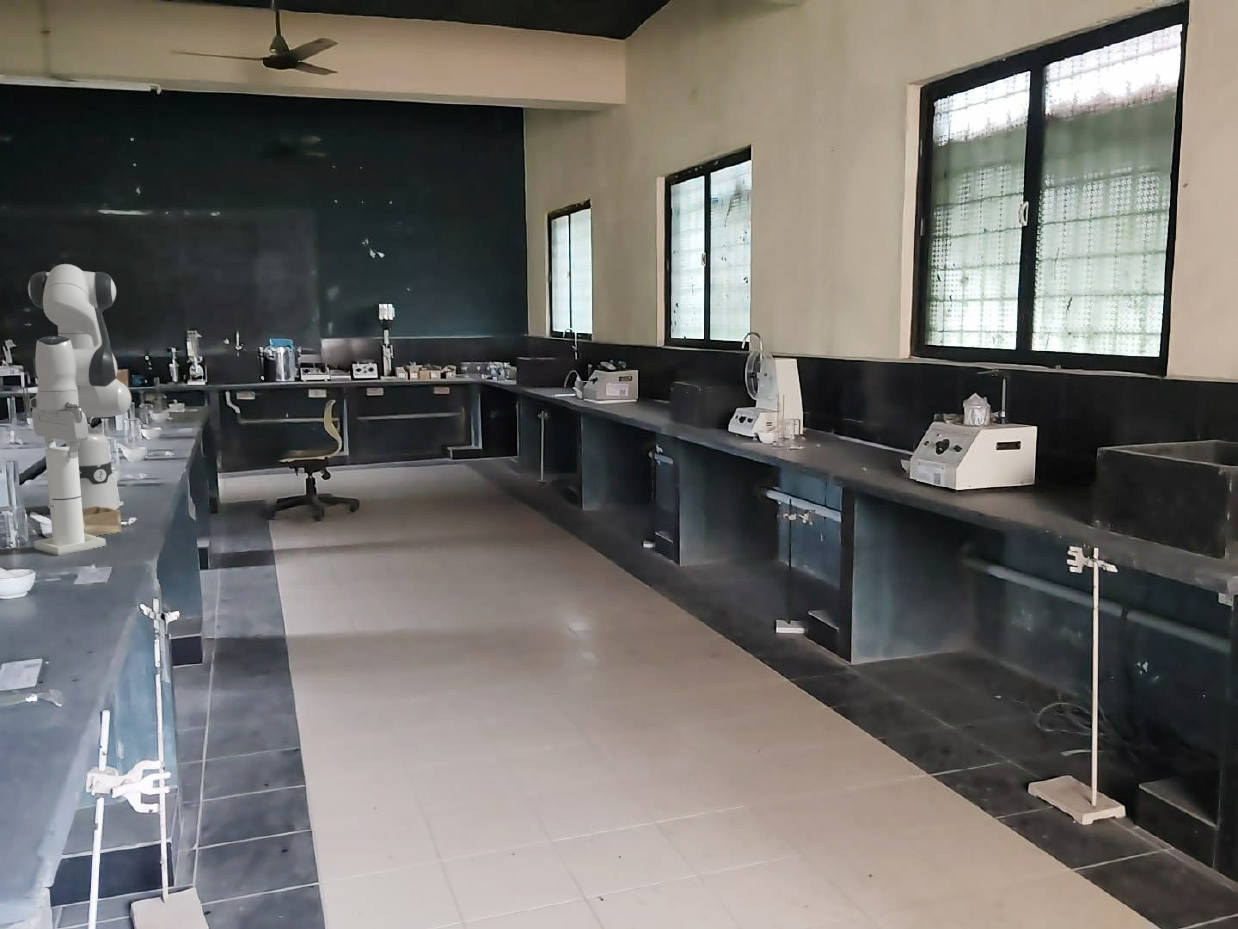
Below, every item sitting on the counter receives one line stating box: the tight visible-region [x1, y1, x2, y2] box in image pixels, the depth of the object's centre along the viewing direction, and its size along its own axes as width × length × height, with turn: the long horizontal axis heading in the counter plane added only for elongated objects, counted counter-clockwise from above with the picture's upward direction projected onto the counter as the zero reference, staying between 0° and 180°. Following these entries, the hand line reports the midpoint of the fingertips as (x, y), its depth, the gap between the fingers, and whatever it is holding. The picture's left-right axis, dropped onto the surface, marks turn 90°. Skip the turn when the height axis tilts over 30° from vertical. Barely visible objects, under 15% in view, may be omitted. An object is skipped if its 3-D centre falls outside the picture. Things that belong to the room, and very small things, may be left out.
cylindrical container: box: [44, 446, 85, 547], centre depth 258 cm, size 7×7×25 cm
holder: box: [82, 506, 123, 537], centre depth 276 cm, size 11×11×6 cm
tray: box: [33, 533, 107, 556], centre depth 260 cm, size 12×12×2 cm
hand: (63, 456), depth 256 cm, fingers open, 8 cm apart
